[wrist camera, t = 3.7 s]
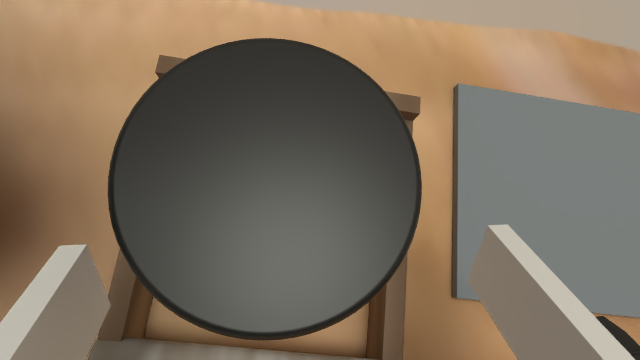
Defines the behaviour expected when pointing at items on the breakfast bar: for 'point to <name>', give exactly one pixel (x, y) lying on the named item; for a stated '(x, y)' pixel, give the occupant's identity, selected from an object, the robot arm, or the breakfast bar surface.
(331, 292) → the jar
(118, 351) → the jar holder
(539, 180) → the mat
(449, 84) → the breakfast bar surface
